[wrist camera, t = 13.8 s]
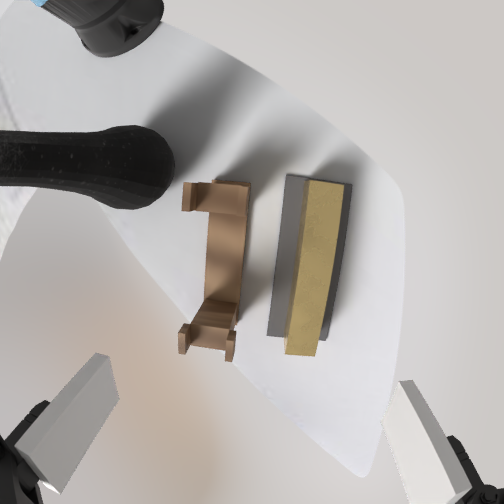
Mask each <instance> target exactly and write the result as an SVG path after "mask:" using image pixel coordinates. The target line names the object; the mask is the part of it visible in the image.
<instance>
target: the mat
mask: <svg viewBox="0 0 504 504" xmlns="http://www.w3.org/2000/svg"><path fill="white" fill-rule="evenodd" d="M308 180H313V181H321V182H328V183H334V184H341V185H344V191H343V199H342V208H341V216H340V223H339V230H338V237H337V244H336V251H335V257H334V263H333V269H332V275H331V281H330V286H329V292H328V297H327V302H326V307H325V312H324V317H323V322H322V327H321V331H320V336H319V340H322V341H326V338H327V333H328V329H329V324H330V320H331V315H332V311H333V306H334V301H335V296H336V291H337V286H338V280H339V275H340V269H341V263H342V257H343V251H344V245H345V238H346V231H347V224H348V217H349V209H350V201H351V192H352V185H351V184H345V183H339V182H332V181H325V180H318V179H311V178H303V177H296V176H287V175H286V180H285V189H284V199H283V208H282V217H281V226H280V235H279V243H278V252H277V260H276V268H275V276H274V284H273V292H272V300H271V308H270V315H269V322H268V330H267V336H274V337H284V330H285V324H286V318H287V311H288V305H289V298H290V292H291V285H292V278H293V271H294V264H295V256H296V249H297V241H298V233H299V225H300V217H301V208H302V199H303V190H304V181H308Z"/></svg>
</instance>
